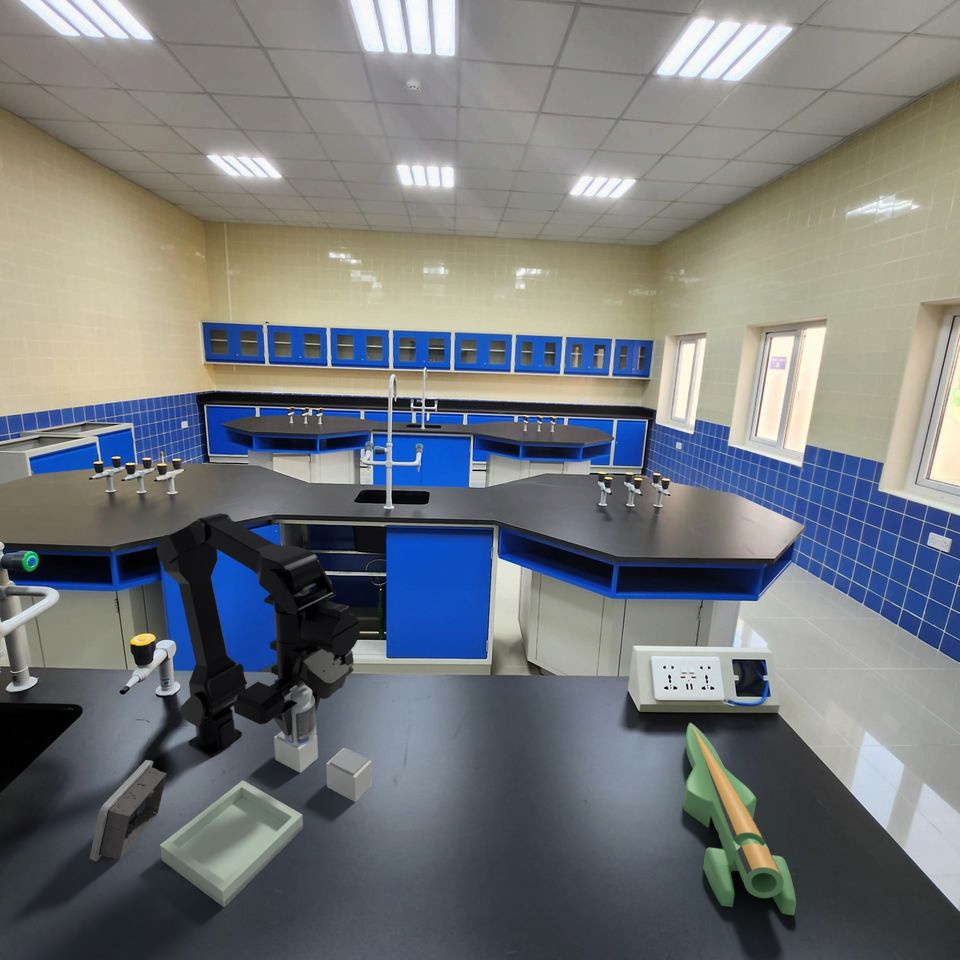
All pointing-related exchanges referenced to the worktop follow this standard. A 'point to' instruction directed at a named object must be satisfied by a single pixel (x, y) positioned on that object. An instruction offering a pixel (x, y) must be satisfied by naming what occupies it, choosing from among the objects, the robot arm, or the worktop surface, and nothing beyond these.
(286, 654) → the robot arm
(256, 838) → the tray
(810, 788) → the worktop surface
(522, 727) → the worktop surface
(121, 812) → the electrical switch
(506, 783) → the worktop surface
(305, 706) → the pill bottle
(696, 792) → the green toy rocket
